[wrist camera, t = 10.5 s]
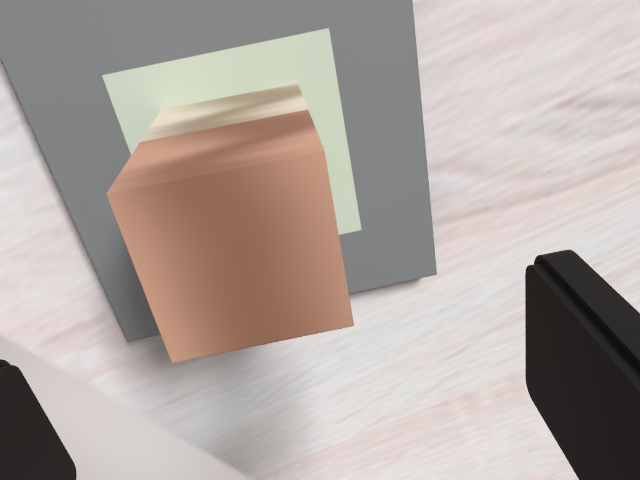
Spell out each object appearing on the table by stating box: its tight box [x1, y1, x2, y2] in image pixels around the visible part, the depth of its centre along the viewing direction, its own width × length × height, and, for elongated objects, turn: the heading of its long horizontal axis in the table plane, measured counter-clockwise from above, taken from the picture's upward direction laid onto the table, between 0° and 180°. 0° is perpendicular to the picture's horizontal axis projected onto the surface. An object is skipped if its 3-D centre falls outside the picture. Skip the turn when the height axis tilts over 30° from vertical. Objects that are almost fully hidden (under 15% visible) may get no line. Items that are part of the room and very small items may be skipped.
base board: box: [0, 0, 437, 341], centre depth 21 cm, size 14×14×1 cm
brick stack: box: [106, 83, 354, 363], centre depth 17 cm, size 5×5×8 cm
